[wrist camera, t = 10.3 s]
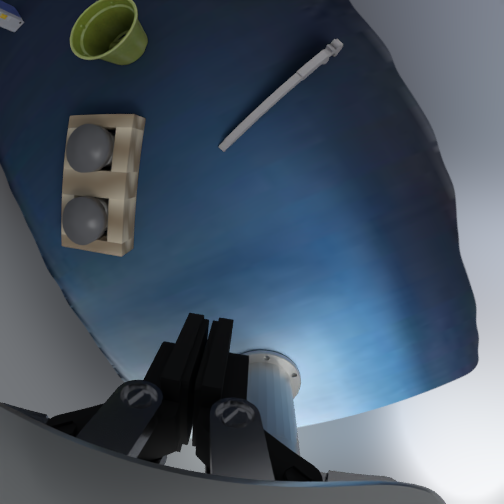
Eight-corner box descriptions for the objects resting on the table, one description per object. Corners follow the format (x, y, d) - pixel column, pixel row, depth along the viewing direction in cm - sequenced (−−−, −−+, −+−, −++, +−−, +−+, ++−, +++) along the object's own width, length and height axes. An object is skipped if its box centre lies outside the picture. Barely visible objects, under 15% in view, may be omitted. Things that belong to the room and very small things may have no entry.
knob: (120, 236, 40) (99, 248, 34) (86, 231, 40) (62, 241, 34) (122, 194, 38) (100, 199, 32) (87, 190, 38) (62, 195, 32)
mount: (133, 248, 41) (121, 256, 37) (76, 239, 40) (61, 245, 37) (145, 118, 36) (134, 114, 32) (84, 118, 36) (70, 115, 32)
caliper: (330, 50, 33) (341, 32, 27) (336, 56, 33) (348, 38, 27) (218, 146, 37) (211, 142, 31) (224, 152, 37) (217, 149, 31)
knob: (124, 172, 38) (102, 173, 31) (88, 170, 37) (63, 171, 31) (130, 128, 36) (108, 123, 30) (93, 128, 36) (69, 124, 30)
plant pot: (115, 88, 35) (85, 74, 26) (91, 48, 33) (60, 30, 24) (170, 48, 33) (150, 22, 25) (141, 10, 31) (119, -16, 23)
